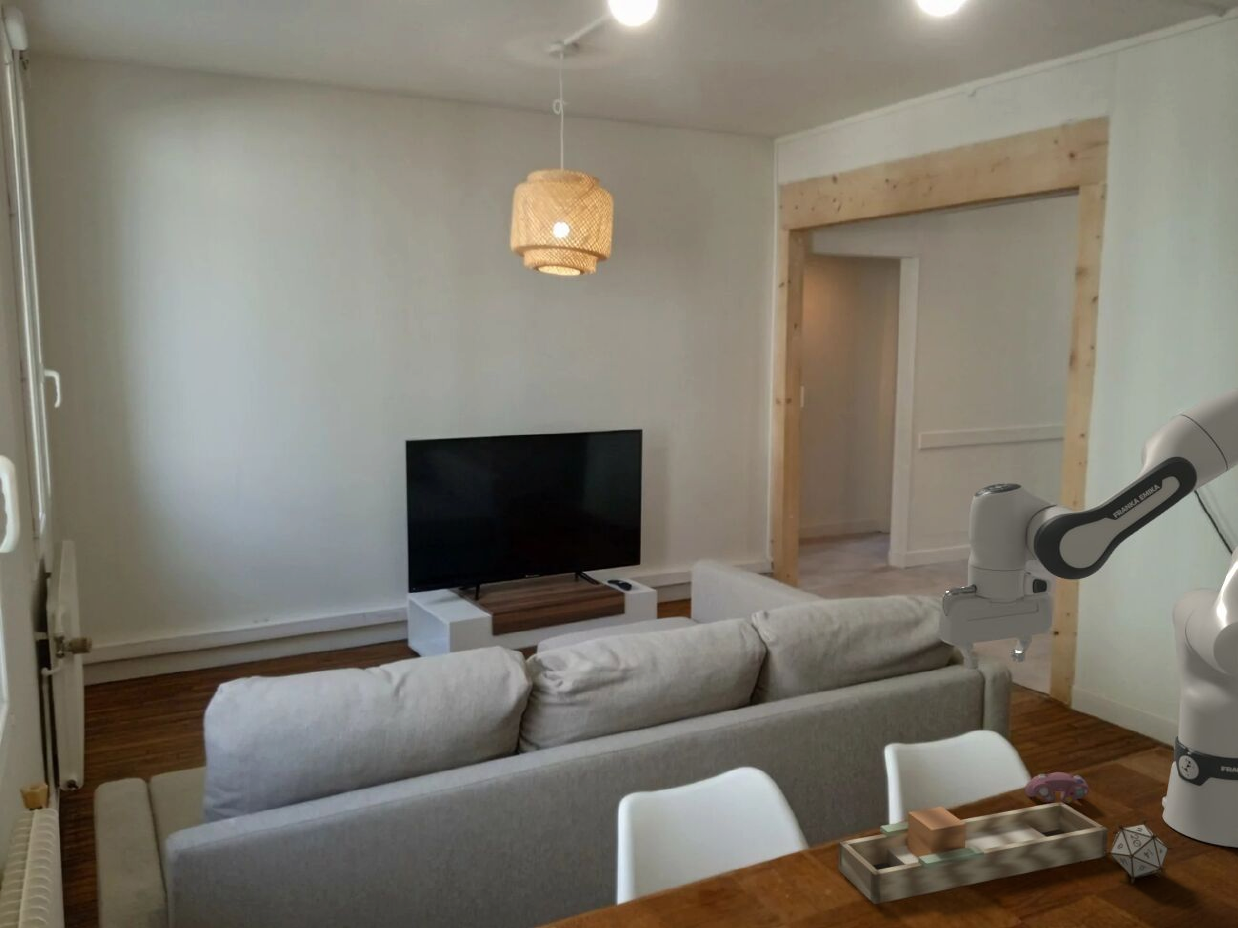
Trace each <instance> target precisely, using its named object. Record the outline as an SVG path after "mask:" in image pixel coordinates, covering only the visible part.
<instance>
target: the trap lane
mask: <svg viewBox="0 0 1238 928" xmlns="http://www.w3.org/2000/svg"><path fill="white" fill-rule="evenodd" d="M960 820H961V821H962V822H964V823H965V824H966V834H965V848H962V849H957V850H952V851H946V852H941V853H936V854H931V855H926V856H920V857H916V856H915V855H914V854H913V853H911V852H910V851H909V850H908V849H907V844H908V820H906V821H902V822H896V823H891V824H885V825H880V828H879V829H880V830H879V832H881V834H876V835H872V836H865V837H859V838H853V839H848V840H844V841H838V862H837V864H838V871H839V873H841V874H842V875H843V876H844V877H845V878H846V879H847V880H849V882H850V883H852V885H854V886H855V887H856V888H857V889H858V890H859V891H860V893H862V894H863V895H864V896H865V897H866V898H867V899H868V900H870V902H871V903H872V904H873V905H877V904H882V903H886V902H892V901H896V900H901V899H906V898H910V897H917V896H922V895H925V894H930V893H935V892H941V891H945V890H949V889H955V888H960V887H964V886H970V885H974V884H978V883H983V882H989V881H992V880H997V879H999V880H1000V879H1003V878H1008V877H1012V876H1017V875H1018V876H1019V875H1022V874H1027V873H1031V872H1032V873H1033V872H1037V871H1042V870H1048V869H1050V868H1056V867H1060V866H1061V867H1062V866H1066V865H1070V864H1075V863H1080V861H1081V862H1085V861H1090V860H1093V859H1094V860H1095V859H1100V858H1104V857H1107V855H1105V854H1103V853H1104V852H1105V851H1106V852H1107V851H1108V850H1107V849H1108V832H1109V831H1108V828H1107V827H1105V826H1103V825H1101V824H1100V823H1098V822H1097V821H1094V820H1093V819H1091V818H1089V817H1088V816H1086V815H1084V814H1083V813H1081V812H1080V811H1077V810H1076V809H1074V808H1073V807H1071V806H1069V805H1067V804H1066V803H1063V802H1062V801H1058V802H1051V803H1047V804H1040V805H1035V806H1031V807H1025V808H1019V809H1014V810H1009V811H1002V812H998V813H991V814H986V815H980V816H974V817H970V818H965V819H960Z"/></svg>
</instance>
